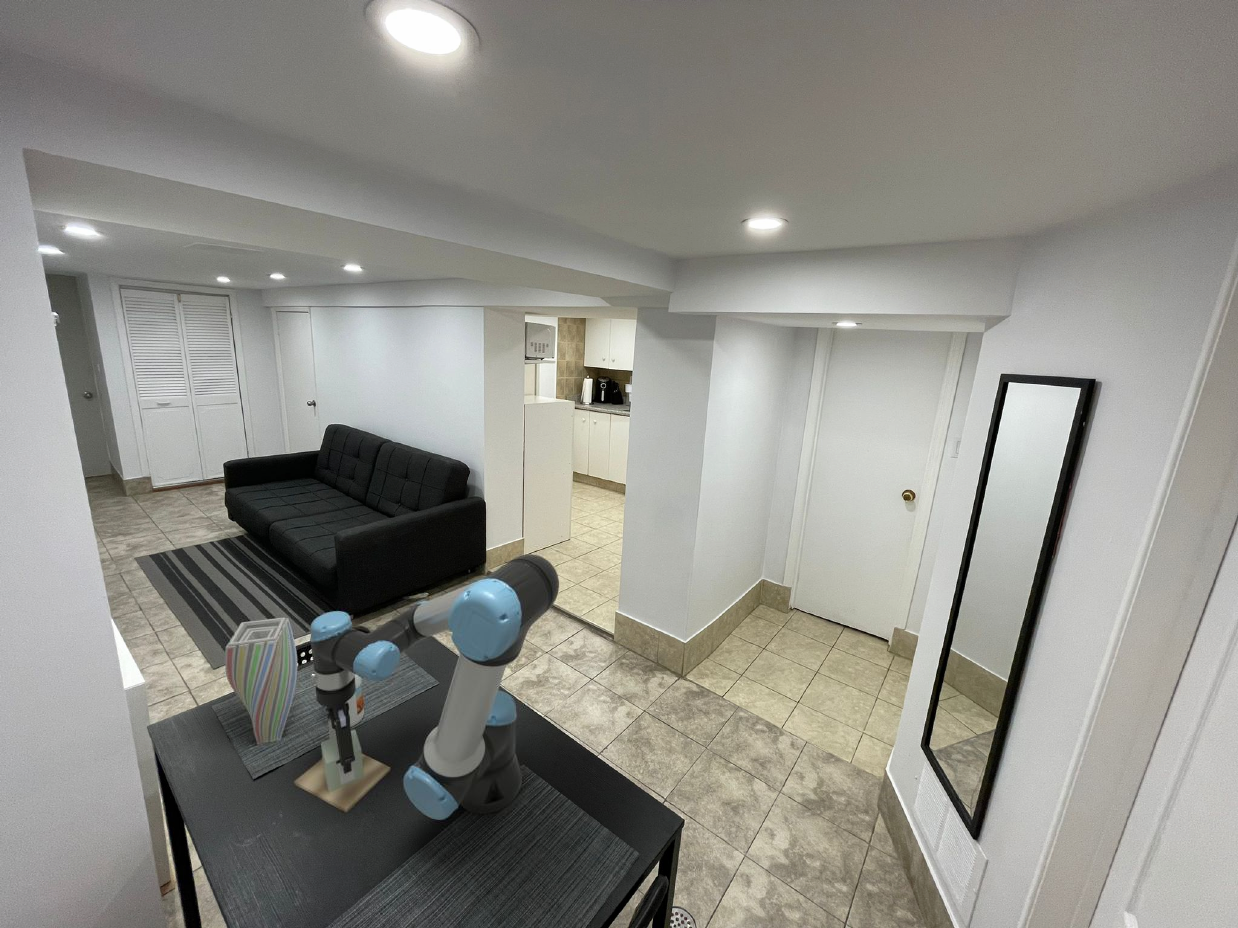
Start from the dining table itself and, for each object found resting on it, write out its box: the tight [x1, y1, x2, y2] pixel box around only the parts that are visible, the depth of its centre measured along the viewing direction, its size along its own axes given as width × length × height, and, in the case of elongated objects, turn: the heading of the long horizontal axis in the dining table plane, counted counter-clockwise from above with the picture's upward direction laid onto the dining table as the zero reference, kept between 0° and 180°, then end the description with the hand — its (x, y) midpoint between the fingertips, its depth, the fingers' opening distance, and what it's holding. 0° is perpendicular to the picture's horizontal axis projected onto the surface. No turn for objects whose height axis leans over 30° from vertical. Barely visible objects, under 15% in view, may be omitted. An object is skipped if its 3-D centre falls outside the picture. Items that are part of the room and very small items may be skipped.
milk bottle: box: [346, 674, 365, 728], centre depth 129 cm, size 8×8×20 cm
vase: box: [224, 617, 298, 745], centre depth 121 cm, size 14×14×30 cm
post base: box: [293, 753, 391, 814], centre depth 114 cm, size 16×12×6 cm
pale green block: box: [320, 729, 363, 793], centre depth 114 cm, size 7×7×8 cm
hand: (342, 760), depth 114 cm, fingers open, 12 cm apart
